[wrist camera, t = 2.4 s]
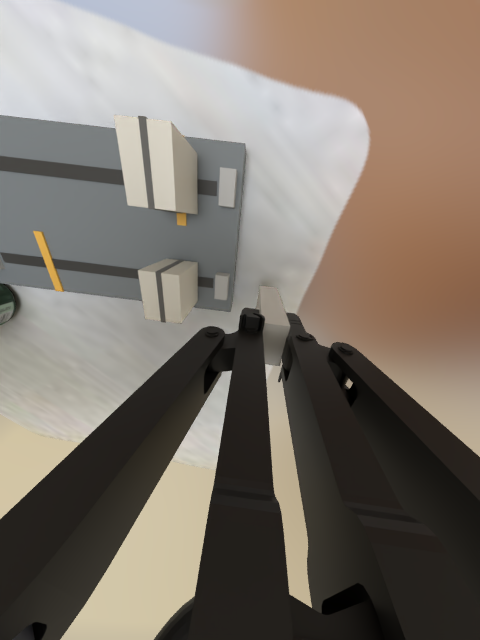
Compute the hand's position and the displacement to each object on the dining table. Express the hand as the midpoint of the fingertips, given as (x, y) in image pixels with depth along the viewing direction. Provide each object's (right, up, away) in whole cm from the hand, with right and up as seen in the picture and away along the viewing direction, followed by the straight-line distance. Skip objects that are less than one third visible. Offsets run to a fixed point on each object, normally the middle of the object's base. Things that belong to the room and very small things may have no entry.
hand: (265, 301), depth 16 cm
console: (-15, +8, +3) cm, 18 cm away
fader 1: (-7, +9, -1) cm, 12 cm away
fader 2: (-8, +2, +3) cm, 9 cm away
